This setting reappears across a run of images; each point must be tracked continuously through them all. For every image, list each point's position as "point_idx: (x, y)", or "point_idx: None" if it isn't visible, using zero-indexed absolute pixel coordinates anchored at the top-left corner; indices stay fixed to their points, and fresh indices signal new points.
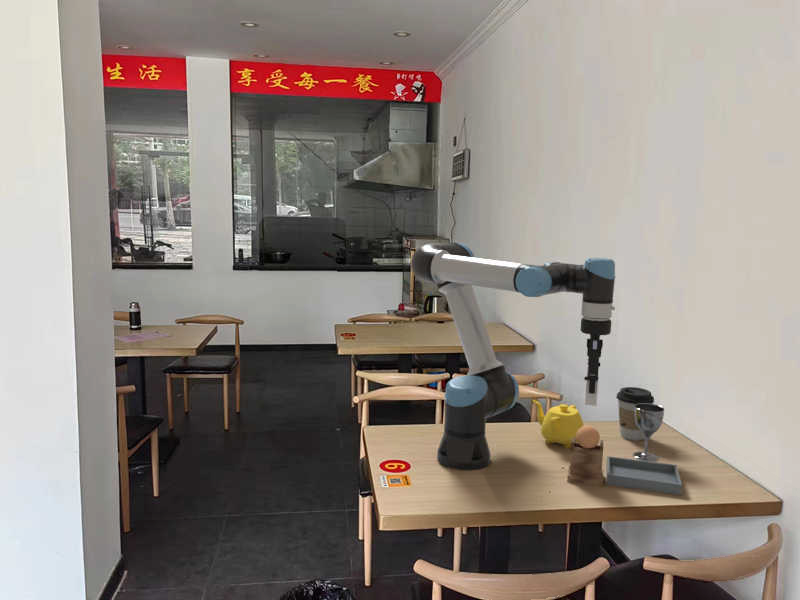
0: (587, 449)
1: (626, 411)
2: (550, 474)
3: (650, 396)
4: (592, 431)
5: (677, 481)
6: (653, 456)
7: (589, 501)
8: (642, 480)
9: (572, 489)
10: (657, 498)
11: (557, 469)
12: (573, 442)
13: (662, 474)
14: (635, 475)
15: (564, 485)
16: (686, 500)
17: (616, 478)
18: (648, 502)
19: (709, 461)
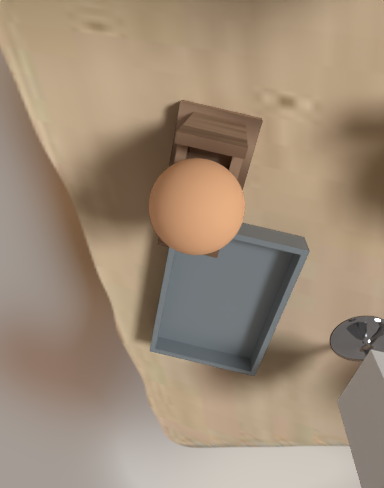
0: None
1: None
2: (228, 47)
3: None
4: (161, 232)
5: (182, 349)
6: (351, 353)
7: (69, 141)
8: (161, 288)
9: (129, 106)
10: (129, 291)
11: (271, 80)
12: (177, 139)
13: (237, 337)
14: (225, 284)
15: (151, 85)
16: (134, 334)
17: None
18: (105, 269)
19: (325, 429)
